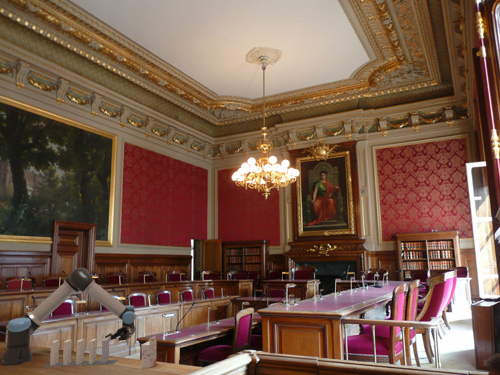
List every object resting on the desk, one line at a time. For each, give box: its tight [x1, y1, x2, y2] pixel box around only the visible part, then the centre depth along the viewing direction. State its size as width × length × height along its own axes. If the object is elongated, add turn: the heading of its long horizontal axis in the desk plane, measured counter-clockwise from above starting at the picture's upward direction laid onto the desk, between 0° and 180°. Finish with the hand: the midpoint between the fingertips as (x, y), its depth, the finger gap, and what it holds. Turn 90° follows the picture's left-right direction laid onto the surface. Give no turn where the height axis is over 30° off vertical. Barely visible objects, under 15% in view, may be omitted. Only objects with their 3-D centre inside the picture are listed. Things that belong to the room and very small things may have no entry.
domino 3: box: [75, 338, 85, 365], centre depth 230 cm, size 2×6×12 cm, turn 0°
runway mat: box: [42, 359, 119, 368], centre depth 229 cm, size 38×10×1 cm, turn 90°
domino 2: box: [62, 339, 73, 365], centre depth 230 cm, size 2×6×12 cm, turn 0°
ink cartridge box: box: [140, 335, 157, 369], centre depth 222 cm, size 9×5×15 cm, turn 168°
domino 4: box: [88, 338, 98, 364], centre depth 230 cm, size 2×6×12 cm, turn 0°
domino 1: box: [49, 339, 60, 366], centre depth 230 cm, size 2×6×12 cm, turn 0°
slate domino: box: [101, 338, 110, 364], centre depth 230 cm, size 2×6×12 cm, turn 0°
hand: (111, 340), depth 240 cm, fingers open, 5 cm apart
